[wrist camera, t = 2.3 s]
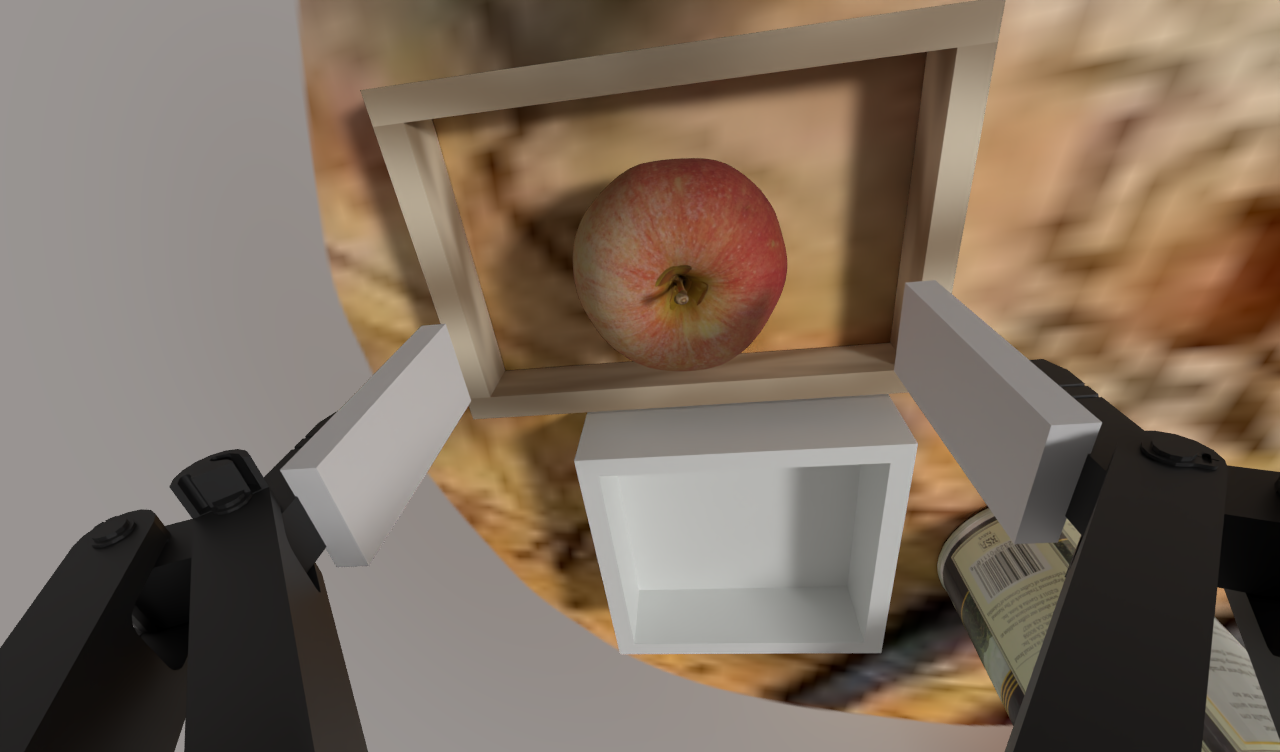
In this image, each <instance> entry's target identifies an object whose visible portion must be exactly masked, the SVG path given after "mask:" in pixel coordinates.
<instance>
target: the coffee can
mask: <svg viewBox="0 0 1280 752" xmlns="http://www.w3.org/2000/svg"><path fill="white" fill-rule="evenodd" d="M1080 537H1081V534H1080V533H1079V532H1078V531H1077V530H1076V528H1075V527H1074V526H1073V525H1072V524H1071V522H1070V521H1069V520H1068V519H1066V522H1065V524H1064V527H1063V530H1062V533H1061V535H1060V538H1059V541H1058V543H1030V544H1014V543H1013V542H1012V540H1011V539H1010V537H1009V536H1008V535H1007V533H1006V532H1005V530H1004V529H1003V527H1002V526H1001V524H1000V523H999V522H998V520H997V519H996V517H995V516H994V514H993V513H992V512H991V510H990V509H989V508H987V509H985V510H983V511H981V512H980V513H978V514H976V515H975V516H973V517H972V518H970V519H968V520H967V521H966V522H964V523H963V524H962V525H961V526H960V527H959V528H958V529H956V530H955V531H954V532H953V534H952V535H951V536H950V537H949V539H948V540H947V541H946V542H945V544H944V545H943V548H942V551H941V553H940V555H939V559H938V564H937V569H938V576H939V579H940V581H941V583H942V586H943V587H944V589H945V590H946V591H947V593H948V595H949V597H950V598H951V601H952V603H953V605H954V607H955V609H956V610H957V612H958V614H959V616H960V618H961V621H962V623H963V625H964V627H965V629H966V630H967V632H968V634H969V637H970V639H971V641H972V643H973V645H974V647H975V649H976V651H977V653H978V655H979V657H980V659H981V661H982V663H983V665H984V667H985V669H986V671H987V673H988V675H989V677H990V679H991V681H992V683H993V685H994V687H995V689H996V691H997V693H998V695H999V697H1000V699H1001V701H1002V703H1003V705H1004V707H1005V709H1006V711H1007V713H1008V715H1009V718H1010V720H1011V722H1012V724H1013V726H1014V724H1015V721H1016V718H1017V715H1018V712H1019V709H1020V707H1021V704H1022V701H1023V698H1024V695H1025V692H1026V689H1027V687H1028V684H1029V681H1030V678H1031V675H1032V672H1033V669H1034V667H1035V664H1036V661H1037V658H1038V655H1039V652H1040V649H1041V647H1042V644H1043V641H1044V638H1045V635H1046V632H1047V630H1048V627H1049V624H1050V621H1051V618H1052V615H1053V612H1054V610H1055V607H1056V604H1057V601H1058V598H1059V595H1060V592H1061V590H1062V587H1063V584H1064V581H1065V575H1066V572H1067V570H1068V567H1069V565H1070V562H1071V560H1072V557H1073V555H1074V552H1075V549H1076V547H1077V544H1078V542H1079V539H1080ZM1201 752H1280V739H1279V737H1278V734H1277V731H1276V728H1275V726H1274V723H1273V720H1272V717H1271V715H1270V712H1269V709H1268V707H1267V704H1266V701H1265V698H1264V696H1263V693H1262V690H1261V688H1260V685H1259V682H1258V679H1257V677H1256V674H1255V671H1254V669H1253V666H1252V663H1251V660H1250V658H1249V655H1248V652H1247V651H1246V650H1245V648H1244V647H1243V646H1242V645H1241V644H1240V643H1239V642H1238V641H1237V640H1236V639H1235V638H1234V637H1233V636H1232V635H1231V634H1230V633H1229V632H1228V631H1227V629H1226V628H1225V627H1224V626H1223V625H1222V624H1221V623H1220V622H1219V621H1218V620H1217V619H1216V618H1215V617H1214V626H1213V636H1212V647H1211V657H1210V668H1209V678H1208V688H1207V699H1206V709H1205V720H1204V730H1203V741H1202V751H1201Z"/></svg>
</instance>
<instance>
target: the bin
mask: <svg viewBox="0 0 1280 752" xmlns="http://www.w3.org/2000/svg"><path fill="white" fill-rule="evenodd" d="M917 446H918V443H917V441H916V440H915V438H914V436H913V435H912V433H911V431H910V430H909V428H908V426H907V425H906V423H905V421H904V420H903V418H902V416H901V414H900V413H899V411H898V409H897V408H896V406H895V404H894V403H893V401H892V399H891V398H890V396H889V394H875V395H859V396H842V397H826V398H810V399H794V400H777V401H761V402H745V403H729V404H713V405H696V406H680V407H664V408H648V409H631V410H615V411H599V412H587V415H586V419H585V423H584V426H583V430H582V434H581V438H580V441H579V445H578V449H577V452H576V456H575V460H574V462H575V467H576V471H577V475H578V479H579V483H580V488H581V492H582V496H583V500H584V504H585V509H586V513H587V517H588V521H589V525H590V530H591V534H592V538H593V542H594V546H595V550H596V555H597V559H598V563H599V567H600V571H601V576H602V580H603V584H604V588H605V592H606V597H607V601H608V605H609V609H610V613H611V618H612V622H613V626H614V630H615V634H616V639H617V643H618V647H619V651H620V654H770V653H881V651H882V645H883V639H884V634H885V628H886V622H887V617H888V611H889V605H890V600H891V594H892V588H893V583H894V577H895V571H896V565H897V560H898V554H899V548H900V543H901V537H902V531H903V526H904V520H905V514H906V509H907V503H908V497H909V492H910V486H911V480H912V474H913V469H914V463H915V457H916V452H917Z"/></svg>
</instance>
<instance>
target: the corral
mask: <svg viewBox="0 0 1280 752" xmlns="http://www.w3.org/2000/svg"><path fill="white" fill-rule="evenodd" d="M1004 5H1005V0H976V1H969V2H963V3H956V4H949V5H942V6H935V7H928V8H921V9H915V10H908V11H901V12H894V13H887V14H880V15H873V16H867V17H860V18H853V19H846V20H839V21H832V22H825V23H819V24H812V25H805V26H798V27H791V28H784V29H777V30H770V31H764V32H757V33H750V34H743V35H736V36H729V37H722V38H716V39H709V40H702V41H695V42H688V43H681V44H674V45H668V46H661V47H654V48H647V49H640V50H633V51H626V52H620V53H613V54H606V55H599V56H592V57H585V58H578V59H572V60H565V61H558V62H551V63H544V64H537V65H530V66H523V67H517V68H510V69H503V70H496V71H489V72H482V73H475V74H469V75H462V76H455V77H448V78H441V79H434V80H427V81H421V82H414V83H407V84H400V85H393V86H386V87H379V88H373V89H366V90H360V91H361V94H362V97H363V100H364V102H365V105H366V108H367V111H368V114H369V117H370V120H371V123H372V126H373V129H374V132H375V134H376V137H377V140H378V143H379V146H380V149H381V152H382V155H383V158H384V161H385V164H386V166H387V169H388V172H389V175H390V178H391V181H392V184H393V187H394V190H395V193H396V196H397V198H398V201H399V204H400V207H401V210H402V213H403V216H404V219H405V222H406V225H407V228H408V230H409V233H410V236H411V239H412V242H413V245H414V248H415V251H416V254H417V257H418V260H419V262H420V265H421V268H422V271H423V274H424V277H425V280H426V283H427V286H428V289H429V292H430V294H431V297H432V300H433V303H434V306H435V309H436V312H437V315H438V318H439V321H440V324H446V326H447V329H448V332H449V335H450V338H451V341H452V344H453V347H454V350H455V353H456V356H457V359H458V362H459V365H460V368H461V371H462V374H463V378H464V381H465V384H466V387H467V390H468V393H469V396H470V399H471V402H470V404H469V408H470V411H471V414H472V417H473V419H485V418H501V417H518V416H534V415H550V414H566V413H583V412H599V411H615V410H631V409H648V408H664V407H680V406H696V405H713V404H729V403H745V402H761V401H777V400H794V399H810V398H826V397H842V396H859V395H875V394H891V393H907V392H908V390H907V389H906V388H905V386H904V385H903V383H902V382H901V380H900V379H899V377H898V376H897V375H896V373H895V372H894V366H895V358H896V351H897V343H898V335H899V327H900V320H901V312H902V304H903V296H904V289H905V283H907V282H919V281H930V280H936V281H937V282H938V283H939V284H940V285H942V286H943V287H944V288H945V289H946V290H947V291H949V292H950V293H951V294H952V289H953V284H954V278H955V273H956V267H957V262H958V256H959V251H960V245H961V240H962V234H963V229H964V224H965V218H966V213H967V207H968V202H969V196H970V191H971V185H972V180H973V174H974V169H975V164H976V158H977V153H978V147H979V142H980V136H981V131H982V125H983V120H984V114H985V109H986V103H987V98H988V93H989V87H990V82H991V76H992V71H993V65H994V60H995V54H996V49H997V43H998V38H999V33H1000V27H1001V22H1002V16H1003V11H1004ZM920 52H927V56H926V64H925V72H924V80H923V87H922V95H921V103H920V111H919V119H918V127H917V135H916V142H915V150H914V158H913V166H912V174H911V182H910V190H909V197H908V205H907V213H906V221H905V229H904V237H903V245H902V252H901V260H900V268H899V276H898V284H897V292H896V300H895V307H894V315H893V323H892V331H891V339H890V343H880V344H866V345H852V346H839V347H825V348H811V349H797V350H784V351H770V352H756V353H742V354H739V355H737V356H736V357H734V358H733V359H731V360H730V361H728V362H726V363H724V364H722V365H720V366H716V367H713V368H708V369H703V370H696V371H666V370H658V369H653V368H648V367H646V366H643V365H641V364H638V363H636V362H634V361H633V362H619V363H605V364H591V365H578V366H564V367H550V368H536V369H523V370H509V371H505V368H504V365H503V361H502V358H501V355H500V351H499V348H498V344H497V341H496V337H495V334H494V330H493V327H492V324H491V320H490V317H489V313H488V310H487V306H486V303H485V299H484V296H483V293H482V289H481V286H480V282H479V279H478V275H477V272H476V268H475V265H474V262H473V258H472V255H471V251H470V248H469V244H468V241H467V238H466V234H465V231H464V227H463V224H462V220H461V217H460V213H459V210H458V207H457V203H456V200H455V196H454V193H453V189H452V186H451V182H450V179H449V176H448V172H447V169H446V165H445V162H444V158H443V155H442V151H441V148H440V145H439V141H438V138H437V134H436V131H435V127H434V124H433V120H432V119H435V118H442V117H450V116H457V115H464V114H472V113H479V112H487V111H494V110H501V109H509V108H516V107H523V106H531V105H538V104H545V103H553V102H560V101H567V100H575V99H582V98H589V97H597V96H604V95H611V94H619V93H626V92H633V91H641V90H648V89H655V88H663V87H670V86H678V85H685V84H692V83H700V82H707V81H714V80H722V79H729V78H736V77H744V76H751V75H758V74H766V73H773V72H780V71H788V70H795V69H802V68H810V67H817V66H824V65H832V64H839V63H846V62H854V61H861V60H869V59H876V58H883V57H891V56H898V55H905V54H913V53H920Z"/></svg>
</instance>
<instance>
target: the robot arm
mask: <svg viewBox="0 0 1280 752" xmlns="http://www.w3.org/2000/svg"><path fill="white" fill-rule="evenodd" d="M894 372H895V373H896V375H897V376H898V377H899V379H900V380H901V382H902V383H903V385H904V386H905V388H906V389H907V390H908V392H909V393H910V395H911V396H912V398H913V399H914V401H915V402H916V403H917V405H918V406H919V408H920V409H921V411H922V412H923V413H924V415H925V416H926V418H927V419H928V421H929V422H930V424H931V425H932V426H933V428H934V429H935V431H936V432H937V434H938V435H939V437H940V438H941V439H942V441H943V442H944V444H945V445H946V447H947V448H948V450H949V451H950V452H951V454H952V455H953V457H954V458H955V460H956V461H957V463H958V464H959V465H960V467H961V468H962V470H963V471H964V473H965V474H966V475H967V477H968V478H969V480H970V481H971V483H972V484H973V486H974V487H975V488H976V490H977V491H978V493H979V494H980V496H981V497H982V499H983V500H984V501H985V503H986V504H987V506H988V507H989V509H990V510H991V512H992V513H993V514H994V516H995V517H996V519H997V520H998V522H999V523H1000V524H1001V526H1002V527H1003V529H1004V530H1005V532H1006V533H1007V535H1008V536H1009V537H1010V539H1011V540H1012V542H1013V543H1014V544H1030V543H1058V541H1059V538H1060V535H1061V533H1062V530H1063V527H1064V524H1065V522H1066V519H1068V520H1069V521H1070V522H1071V524H1072V525H1073V526H1074V527H1075V528H1076V530H1077V531H1078V532H1079V533H1080V534H1081V537H1080V539H1079V542H1078V544H1077V547H1076V549H1075V552H1074V555H1073V557H1072V560H1071V562H1070V565H1069V567H1068V570H1067V572H1066V575H1065V581H1064V584H1063V587H1062V590H1061V592H1060V595H1059V598H1058V601H1057V604H1056V607H1055V610H1054V612H1053V615H1052V618H1051V621H1050V624H1049V627H1048V630H1047V632H1046V635H1045V638H1044V641H1043V644H1042V647H1041V649H1040V652H1039V655H1038V658H1037V661H1036V664H1035V667H1034V669H1033V672H1032V675H1031V678H1030V681H1029V684H1028V687H1027V689H1026V692H1025V695H1024V698H1023V701H1022V704H1021V707H1020V709H1019V712H1018V715H1017V718H1016V721H1015V724H1014V727H1013V729H1012V732H1011V735H1010V738H1009V741H1008V744H1007V747H1006V749H1005V752H1201V751H1202V741H1203V730H1204V720H1205V709H1206V699H1207V688H1208V678H1209V668H1210V657H1211V647H1212V636H1213V626H1214V615H1215V605H1216V595H1217V587H1219V588H1224V590H1225V593H1226V595H1227V598H1228V601H1229V603H1230V606H1231V609H1232V612H1233V614H1234V617H1235V620H1236V622H1237V625H1238V628H1239V631H1240V633H1241V636H1242V639H1243V641H1244V644H1245V647H1246V650H1247V652H1248V655H1249V658H1250V660H1251V663H1252V666H1253V669H1254V671H1255V674H1256V677H1257V679H1258V682H1259V685H1260V688H1261V690H1262V693H1263V696H1264V698H1265V701H1266V704H1267V707H1268V709H1269V712H1270V715H1271V717H1272V720H1273V723H1274V726H1275V728H1276V731H1277V734H1278V737H1279V739H1280V472H1274V471H1266V470H1258V469H1251V468H1243V467H1235V466H1227V465H1226V462H1225V460H1224V459H1223V458H1222V457H1221V456H1219V455H1218V454H1217V453H1216V452H1215V451H1214V450H1212V449H1210V448H1208V447H1206V446H1204V445H1202V444H1201V443H1199V442H1197V441H1194V440H1191V439H1188V438H1185V437H1182V436H1179V435H1176V434H1171V433H1165V432H1159V431H1144V430H1143V429H1141V428H1140V427H1139V426H1138V425H1136V424H1135V423H1134V422H1133V421H1131V420H1130V419H1129V418H1128V417H1126V416H1125V415H1124V414H1123V413H1121V412H1120V411H1119V410H1117V409H1116V408H1115V407H1114V406H1112V405H1111V404H1110V403H1109V402H1107V401H1106V400H1105V399H1104V398H1102V397H1098V394H1097V393H1096V392H1095V391H1094V390H1092V389H1091V388H1090V387H1088V386H1085V385H1084V383H1083V382H1082V381H1081V380H1080V379H1078V378H1077V377H1076V376H1075V375H1073V374H1072V373H1071V372H1070V371H1068V370H1067V369H1064V368H1062V367H1060V366H1057V365H1055V364H1053V363H1051V362H1048V361H1046V360H1044V359H1037V360H1028V359H1027V358H1026V357H1025V356H1024V355H1022V354H1021V353H1020V352H1019V351H1018V350H1017V349H1015V348H1014V347H1013V346H1012V345H1011V344H1010V343H1008V342H1007V341H1006V340H1005V339H1004V338H1003V337H1001V336H1000V335H999V334H998V333H997V332H996V331H994V330H993V329H992V328H991V327H990V326H988V325H987V324H986V323H985V322H984V321H983V320H981V319H980V318H979V317H978V316H977V315H976V314H974V313H973V312H972V311H971V310H970V309H969V308H967V307H966V306H965V305H964V304H963V303H961V302H960V301H959V300H958V299H957V298H956V297H954V296H953V295H952V294H951V293H950V292H949V291H947V290H946V289H945V288H944V287H943V286H942V285H940V284H939V283H938V282H937V281H936V280H930V281H919V282H907V283H905V289H904V296H903V304H902V312H901V320H900V327H899V335H898V343H897V351H896V358H895V366H894ZM470 402H471V399H470V396H469V393H468V390H467V387H466V384H465V381H464V378H463V374H462V371H461V368H460V365H459V362H458V359H457V356H456V353H455V350H454V347H453V344H452V341H451V338H450V335H449V332H448V329H447V326H446V324H436V325H425V326H421V327H420V328H419V329H418V330H417V331H416V332H415V333H414V334H413V335H412V336H411V337H410V338H409V339H408V340H407V341H406V342H405V343H404V344H403V345H402V346H401V347H400V348H399V349H398V350H397V351H396V352H395V353H394V354H393V355H392V356H391V357H390V358H389V359H388V360H387V362H386V363H385V364H384V365H383V366H382V367H381V368H380V369H379V370H378V371H377V372H376V373H375V374H374V375H373V376H372V377H371V378H370V379H369V380H368V381H367V382H366V383H365V384H364V385H363V386H362V387H361V388H360V389H359V390H358V391H357V392H356V393H355V394H354V395H353V396H352V397H351V398H350V399H349V400H348V401H347V402H346V403H345V404H344V405H343V406H342V407H341V408H340V409H339V411H337V412H335V413H333V414H332V415H331V416H329V417H327V418H326V419H324V420H322V421H321V422H319V423H318V424H317V425H316V426H315V427H314V428H313V429H312V430H311V431H310V432H309V433H308V434H307V435H306V438H305V439H302V440H301V441H300V442H299V443H298V444H297V445H296V446H295V449H294V450H291V451H290V452H289V453H288V454H287V455H286V456H285V457H284V458H283V459H282V460H281V461H280V462H279V463H278V464H277V465H276V466H275V467H274V468H273V469H272V470H271V471H270V472H269V473H268V474H267V475H266V476H265V477H264V478H263V476H262V474H261V473H260V471H259V470H258V468H257V466H256V465H255V463H254V461H253V460H252V458H251V456H250V455H249V454H248V452H247V451H245V450H239V449H235V450H228V451H223V452H220V453H217V454H213V455H210V456H208V457H206V458H204V459H202V460H199V461H197V462H195V463H194V464H192V465H191V466H189V467H187V468H186V469H184V470H183V471H182V472H181V473H179V474H178V475H177V476H176V477H175V478H174V479H173V481H172V483H171V485H170V488H171V490H172V491H173V492H174V494H175V495H176V496H177V498H178V499H179V501H180V502H181V503H182V505H183V506H184V507H185V509H186V510H187V512H188V513H189V514H190V516H191V517H192V518H193V519H190V520H186V521H182V522H179V523H175V524H171V525H167V526H164V525H163V523H162V522H161V521H160V520H159V518H158V517H157V515H156V514H155V513H153V511H151V510H137V511H132V512H128V513H125V514H122V515H120V516H115V517H112V518H110V519H108V520H106V522H102V523H100V524H99V525H97V526H95V527H94V529H93V530H91V531H90V532H88V533H87V534H86V535H84V536H83V537H82V538H81V539H80V540H79V541H78V542H77V543H76V544H75V545H74V546H73V547H72V548H71V550H70V551H69V553H68V554H67V555H66V557H65V558H64V560H63V561H62V562H61V564H60V565H59V567H58V568H57V570H56V571H55V572H54V574H53V575H52V576H51V578H50V579H49V581H48V582H47V583H46V585H45V586H44V588H43V589H42V590H41V592H40V593H39V595H38V596H37V597H36V599H35V600H34V602H33V603H32V605H31V606H30V607H29V609H28V610H27V612H26V613H25V614H24V616H23V617H22V618H21V620H20V621H19V623H18V624H17V625H16V627H15V628H14V630H13V631H12V632H11V634H10V635H9V637H8V638H7V639H6V641H5V642H4V644H3V645H2V646H1V648H0V752H174V751H175V748H176V745H177V742H178V739H179V736H180V733H181V730H182V726H183V724H184V721H185V718H186V722H185V750H184V752H368V750H367V746H366V742H365V739H364V734H363V731H362V727H361V723H360V719H359V715H358V711H357V707H356V703H355V700H354V696H353V692H352V688H351V684H350V680H349V676H348V672H347V669H346V665H345V661H344V657H343V653H342V649H341V645H340V641H339V638H338V634H337V630H336V626H335V622H334V618H333V614H332V611H331V607H330V603H329V599H328V595H327V591H326V587H325V583H324V580H323V576H322V573H321V571H320V570H319V568H318V566H317V565H316V563H315V562H316V560H317V559H318V557H319V556H320V555H321V553H322V552H323V550H324V549H325V548H326V550H327V552H328V553H329V555H330V557H331V558H332V560H333V562H334V563H335V565H336V567H357V566H369V565H370V564H371V562H372V561H373V559H374V557H375V556H376V554H377V552H378V551H379V549H380V548H381V546H382V544H383V543H384V541H385V539H386V538H387V536H388V535H389V533H390V531H391V530H392V528H393V527H394V525H395V523H396V522H397V520H398V518H399V517H400V515H401V514H402V512H403V510H404V509H405V507H406V506H407V504H408V502H409V501H410V499H411V498H412V496H413V494H414V493H415V491H416V489H417V488H418V486H419V485H420V483H421V481H422V480H423V478H424V476H425V475H426V473H427V472H428V470H429V468H430V467H431V465H432V464H433V462H434V460H435V459H436V457H437V455H438V454H439V452H440V451H441V449H442V447H443V446H444V444H445V442H446V441H447V439H448V438H449V436H450V434H451V433H452V431H453V430H454V428H455V426H456V425H457V423H458V421H459V420H460V418H461V417H462V415H463V413H464V412H465V410H466V409H467V407H468V405H469V404H470ZM133 626H134V627H133Z"/></svg>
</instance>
